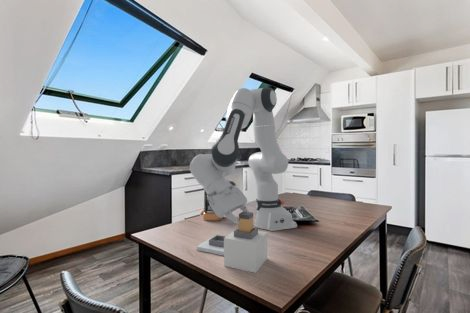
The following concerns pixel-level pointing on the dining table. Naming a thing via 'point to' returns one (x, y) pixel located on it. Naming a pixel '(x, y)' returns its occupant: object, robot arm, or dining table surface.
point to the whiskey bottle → (209, 211)
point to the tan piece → (246, 222)
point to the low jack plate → (213, 245)
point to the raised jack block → (245, 250)
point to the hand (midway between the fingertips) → (243, 218)
